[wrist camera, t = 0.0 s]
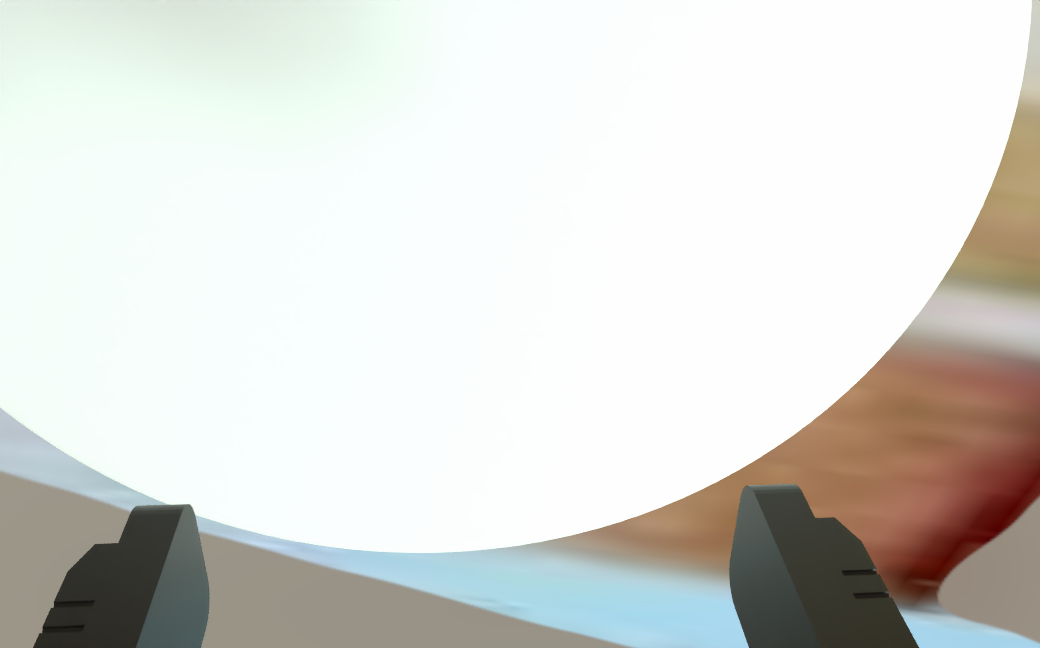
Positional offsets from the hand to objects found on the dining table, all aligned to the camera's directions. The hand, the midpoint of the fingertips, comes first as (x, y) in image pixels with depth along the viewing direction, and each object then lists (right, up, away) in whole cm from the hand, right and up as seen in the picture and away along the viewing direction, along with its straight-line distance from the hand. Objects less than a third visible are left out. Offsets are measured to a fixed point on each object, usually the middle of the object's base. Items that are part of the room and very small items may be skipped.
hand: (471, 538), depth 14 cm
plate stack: (-2, +14, +18) cm, 23 cm away
